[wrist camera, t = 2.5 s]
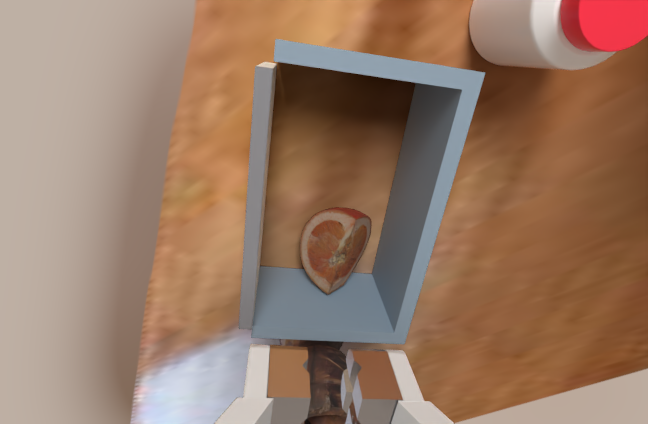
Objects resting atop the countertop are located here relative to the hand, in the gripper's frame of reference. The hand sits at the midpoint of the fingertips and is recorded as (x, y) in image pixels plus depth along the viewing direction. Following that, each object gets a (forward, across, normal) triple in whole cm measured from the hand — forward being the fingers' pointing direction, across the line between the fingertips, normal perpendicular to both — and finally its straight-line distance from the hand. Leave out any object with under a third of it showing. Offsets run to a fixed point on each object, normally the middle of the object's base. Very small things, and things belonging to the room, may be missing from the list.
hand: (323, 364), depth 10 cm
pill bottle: (+25, -16, -13) cm, 33 cm away
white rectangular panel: (+25, +4, +3) cm, 26 cm away
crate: (+25, -4, +3) cm, 26 cm away
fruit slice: (+25, -4, +9) cm, 27 cm away
